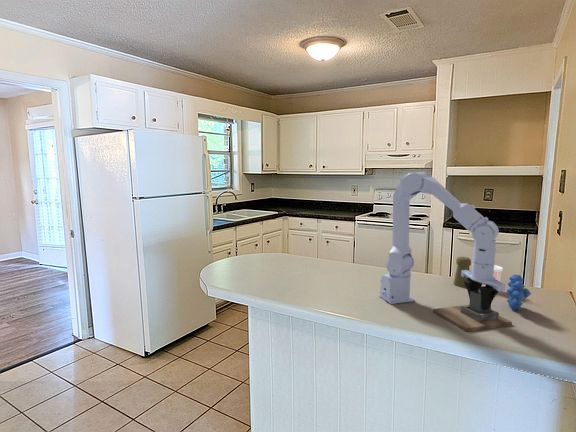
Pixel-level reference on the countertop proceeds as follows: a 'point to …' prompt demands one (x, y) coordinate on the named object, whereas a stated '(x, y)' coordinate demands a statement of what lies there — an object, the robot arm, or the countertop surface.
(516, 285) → the grapes
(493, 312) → the charging dock
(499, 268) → the beverage cup
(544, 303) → the countertop surface
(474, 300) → the plug
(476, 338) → the countertop surface
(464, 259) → the cork
